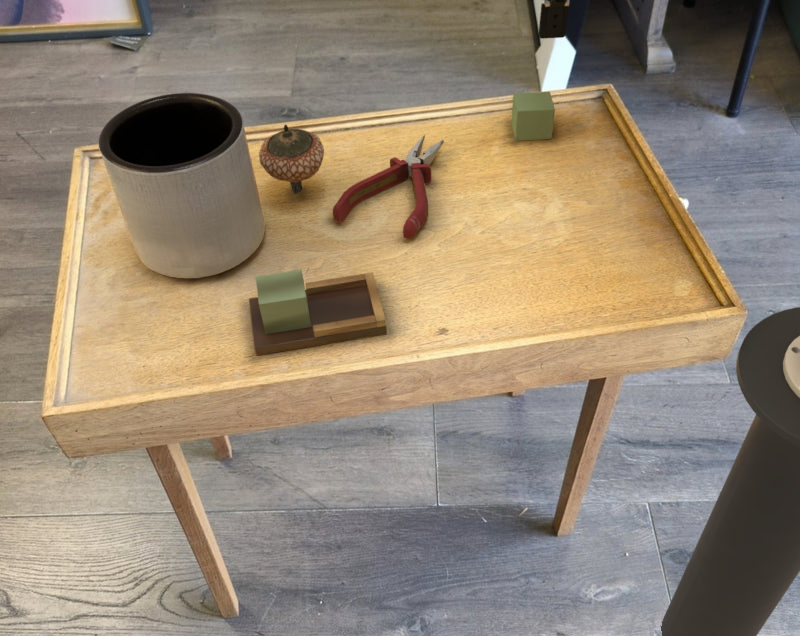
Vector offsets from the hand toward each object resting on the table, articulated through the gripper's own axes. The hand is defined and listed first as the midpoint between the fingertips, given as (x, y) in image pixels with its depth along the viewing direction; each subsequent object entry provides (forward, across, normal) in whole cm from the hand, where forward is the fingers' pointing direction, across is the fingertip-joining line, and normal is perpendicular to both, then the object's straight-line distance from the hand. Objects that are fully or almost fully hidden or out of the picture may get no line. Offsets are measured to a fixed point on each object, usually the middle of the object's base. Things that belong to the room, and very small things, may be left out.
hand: (546, 17), depth 104 cm
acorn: (+16, -12, +32) cm, 38 cm away
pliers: (+16, -14, +18) cm, 27 cm away
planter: (+16, -21, +44) cm, 51 cm away
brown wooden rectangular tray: (+16, -35, +29) cm, 48 cm away
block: (+16, 0, 0) cm, 16 cm away
